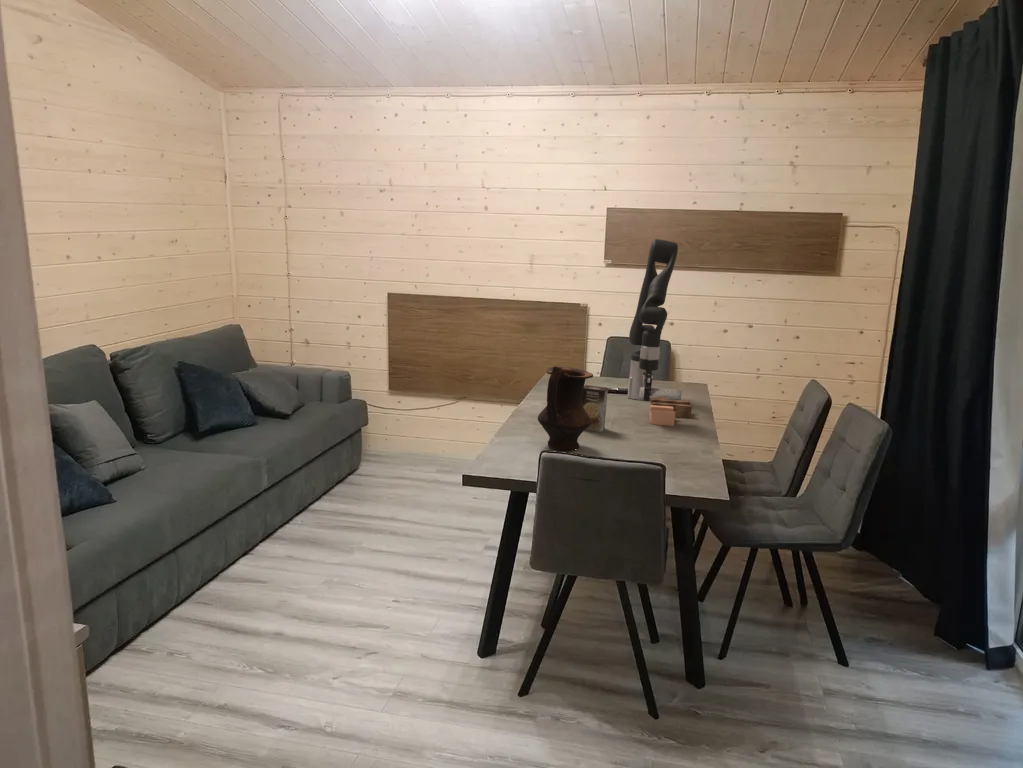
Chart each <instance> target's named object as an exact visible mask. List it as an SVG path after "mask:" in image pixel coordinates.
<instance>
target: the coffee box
mask: <svg viewBox="0 0 1023 768" xmlns="http://www.w3.org/2000/svg"><path fill="white" fill-rule="evenodd" d="M608 392H609V388H608V387H606V386H604V387H603V386H596V385H590V384H584V389H583V394H582V398H581V402H582V406H583V408H584V409H585V410H586V412H587V413H588V415H589V417H590V419H591V425H590V426H589V427H588V428H587V429H585V430H584V431H590V430H591V431H592V432H597V431H598V433H602V432H603V431H604V430H605V427H606V425H605V424H606V415H607V414H606V413H607V403H608V402H607V401H608V394H609V393H608Z"/></svg>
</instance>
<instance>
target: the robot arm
mask: <svg viewBox="0 0 1023 768" xmlns="http://www.w3.org/2000/svg"><path fill="white" fill-rule="evenodd" d="M678 252H679V245H678V243H677V242H675V241H671V240H664V239H659V238H656V239H655V238H654V239H653V240H652V242H651V244H650V247H649V252H648V258H647V264H646V269H645V275H644V277H643V282H642V285H641V288H640V294H639V297H638V302H637V307H636V311H635V315H634V317H633V320H632V324H631V327H630V330H629V337H628V339H629V340H628V341H629V342H630V344H631V345H633V346H640V347H641V348H640V349H639V350H638V351H634V352H632V353H631V357H630V367H629V369H630V370H629V375H628V385H627V387H628V389H627V398H628V399H633V400H642V401H644V402H650V398H649V397H650V391H651V388H652V386H653V379H654V373H653V371H657V370H659V367H660V366H659V365H660V364H659V363H660V355H661V353H660V351H661V350H660V345H661V337H662V333H663V332H662V331H663V329H664V326H665V323H666V321H667V318H668V312H667V309H666V308H665V307H662V306H663V305H664V304H665V302H666V298H667V292H668V286H669V283H670V280H671V276H672V275H673V271H674V267H675V264H676V261H677V257H678ZM656 263H659V264H664V265H665V266H664V269H662V271H660V273H659V274H658V272H657V269H656V268H657V267H656ZM655 326H656V327H655ZM640 387H644V397H640Z"/></svg>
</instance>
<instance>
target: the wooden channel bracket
mask: <svg viewBox="0 0 1023 768" xmlns="http://www.w3.org/2000/svg"><path fill="white" fill-rule="evenodd" d="M650 405H657V406H670V407H673V411H675V418H681V417H682V418H684V419H691V418H692V410H693V406H692V404H691V402H690V401H689V400H688V401H687V400H674V399H659V398H650V403H649V406H650ZM682 418H681V419H682Z"/></svg>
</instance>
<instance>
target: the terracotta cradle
mask: <svg viewBox="0 0 1023 768" xmlns="http://www.w3.org/2000/svg"><path fill="white" fill-rule="evenodd" d="M648 417H649V421H650V424H651V425H660V426H661V425H662V426H672V427H673V426H675V421H676V417H675V411H673V407H670V406H657V405H650V404H649V415H648Z"/></svg>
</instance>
